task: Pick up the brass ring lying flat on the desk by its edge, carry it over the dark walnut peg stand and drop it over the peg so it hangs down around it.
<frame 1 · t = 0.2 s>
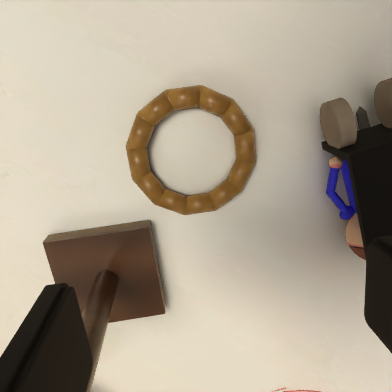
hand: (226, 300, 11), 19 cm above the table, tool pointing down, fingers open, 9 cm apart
peg stand: (109, 271, 31), on the table
ring: (192, 153, 28), point 1 cm above the table
figurine character: (351, 172, 30), on the table
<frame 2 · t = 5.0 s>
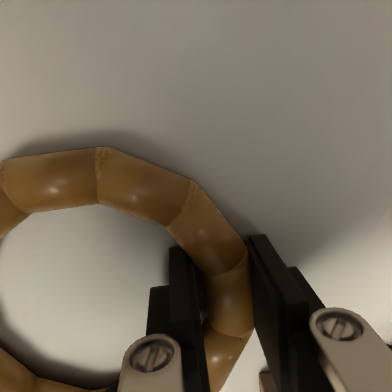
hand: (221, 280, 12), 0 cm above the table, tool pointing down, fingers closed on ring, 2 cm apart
ring: (94, 310, 11), point 1 cm above the table, touching gripper
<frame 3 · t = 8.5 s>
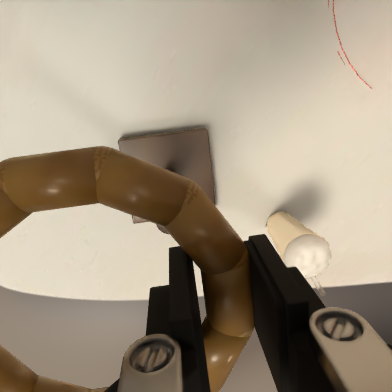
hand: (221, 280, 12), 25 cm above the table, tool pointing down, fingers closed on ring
peg stand: (169, 174, 36), on the table
milkshake: (280, 226, 39), on the table
ring: (94, 309, 11), point 26 cm above the table, touching gripper
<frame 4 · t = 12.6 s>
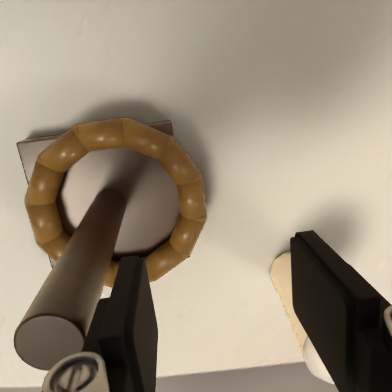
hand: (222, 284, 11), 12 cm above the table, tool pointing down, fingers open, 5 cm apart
peg stand: (113, 197, 22), on the table
milkshake: (290, 272, 26), on the table
ring: (119, 208, 20), point 2 cm above the table, touching peg stand
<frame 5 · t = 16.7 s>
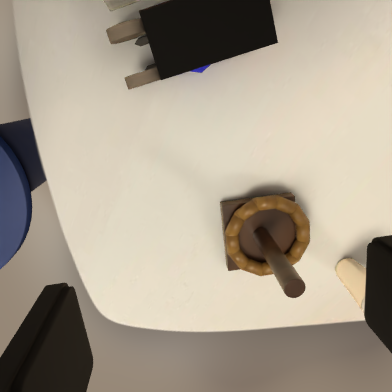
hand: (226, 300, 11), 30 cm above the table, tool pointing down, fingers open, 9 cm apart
peg stand: (257, 229, 43), on the table
milkshake: (346, 269, 46), on the table
ring: (267, 236, 41), point 2 cm above the table, touching peg stand
figurine character: (189, 42, 36), on the table
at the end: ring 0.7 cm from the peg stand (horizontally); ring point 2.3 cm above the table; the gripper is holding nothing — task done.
